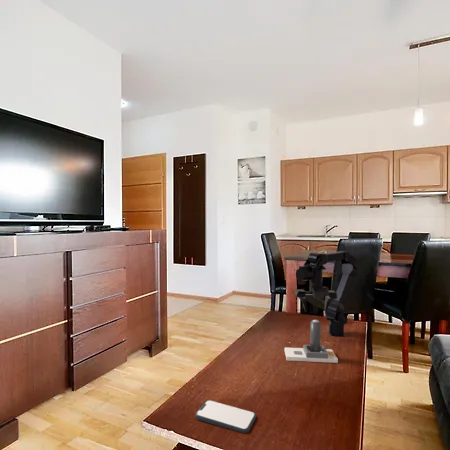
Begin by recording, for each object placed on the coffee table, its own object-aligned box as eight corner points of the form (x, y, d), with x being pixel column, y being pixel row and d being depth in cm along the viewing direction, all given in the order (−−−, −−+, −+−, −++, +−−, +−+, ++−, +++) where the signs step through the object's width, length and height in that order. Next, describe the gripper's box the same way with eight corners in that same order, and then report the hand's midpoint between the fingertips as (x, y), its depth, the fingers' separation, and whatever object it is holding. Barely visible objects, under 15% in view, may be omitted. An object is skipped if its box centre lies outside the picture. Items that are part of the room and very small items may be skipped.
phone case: (257, 418, 92) (207, 403, 99) (257, 412, 92) (207, 398, 98) (246, 437, 84) (193, 420, 90) (247, 431, 84) (193, 414, 90)
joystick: (311, 350, 135) (312, 318, 135) (321, 353, 133) (322, 320, 133) (308, 354, 132) (309, 321, 132) (318, 356, 129) (319, 322, 129)
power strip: (331, 352, 137) (331, 344, 137) (337, 362, 127) (337, 354, 127) (284, 350, 139) (284, 342, 138) (286, 360, 129) (287, 351, 129)
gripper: (298, 281, 145) (298, 316, 145) (340, 283, 144) (340, 317, 144) (295, 277, 156) (294, 309, 156) (334, 278, 155) (333, 310, 155)
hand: (315, 311), depth 153 cm, fingers open, 9 cm apart
